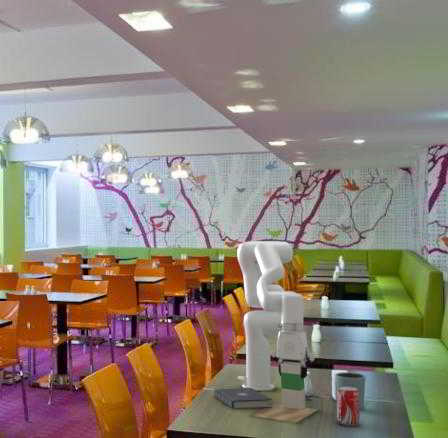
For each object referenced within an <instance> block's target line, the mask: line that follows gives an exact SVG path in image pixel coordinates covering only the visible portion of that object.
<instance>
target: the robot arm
mask: <svg viewBox="0 0 448 438" xmlns="http://www.w3.org/2000/svg"><path fill="white" fill-rule="evenodd" d="M293 257H294V250H293V248H292V246H291V244H290V243H289V242H288V241H279V240H278V241H277V240H251V241H244V242H242V243H240V244H239V246H238V247H237V261H238V264H239V267H240V269H241V272H242V276H243V288H244V298H245V302H246V304H247V306H248V307H250V308H256V309H257V308H260V309H261V308H262V310H251V311H248V312H246V313H245V315H244V317H243V326H244V332H245V342H246V344H245V349H246V351H245V353H246V355H245V359H246V361H245V362H246V363H245V364H246V369H245V372H246V373H245V374H246V375H244V376H243V375H237V377H236V378H237V381H238V382H243V383H242V388H252V389H254V390H256V391H258V392H264V391H266V392H267V391H273V390H275V385H274V384H271V381H272V380H271V379H272V378H271V377H272V376H271V357H272V359H273V360H274V361H275V362H276V364H277V365H278V374H279V376H280V377H281V364H282V363H283V362H284V361H285V362H286V360H291V361H299V363H301V364H302V367H301V378H302V379H304V380H305V379H306V378H307V377H308V367H309V366H310V365H311V364H312V363H313V362H314V361H315V360H316V355H315V354H313V352H311V351H310V350H309V349H308V347H309V346H308V339H307V338H308V337H307V333H306V331H304V297H303V295H302V294H301V293H297V292H295V291H293V290H292V291H291V290H290V291H285V290H284V288H283V287H282V286H281V285H279V284H276V282H278V281H280V280H281V279H283V278H284V275H285V274H286V270H285V267H284V264H288V263H290V262H291V261H292V260H293ZM274 283H275V284H274ZM266 335H278V336H277V345H276V348H275V349H273V350H271V344H270V342H269V340H268V339H267V338H266V337H265V336H266ZM308 357H309V359H308ZM307 359H308V360H307Z"/></svg>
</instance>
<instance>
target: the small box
mask: <svg viewBox="0 0 448 438" xmlns="http://www.w3.org/2000/svg"><path fill="white" fill-rule="evenodd" d="M343 372H349V371H348V370H344V369H331V396H332V398H333V399H334V400H335V401H337V380H336V374H337V373H343Z"/></svg>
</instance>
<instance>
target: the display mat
mask: <svg viewBox="0 0 448 438" xmlns="http://www.w3.org/2000/svg"><path fill="white" fill-rule="evenodd" d="M270 406H271V407H272V408H262V409H261V410H259V411H257V412H255V413H252V414H251V416H253V417H259V418H266V419H272V420H278V421H285V422H291V423H298V422H300V421H301V420H303V419H305V418H307V417H308V416H310V415H312V414H313V413H315V412H317V411H318V409H316V408H308V407H304V408H303V409H302V410H298V409H291V408H285V407H283V406H282V403H281V404H280V403H273V404H271V405H270Z"/></svg>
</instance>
